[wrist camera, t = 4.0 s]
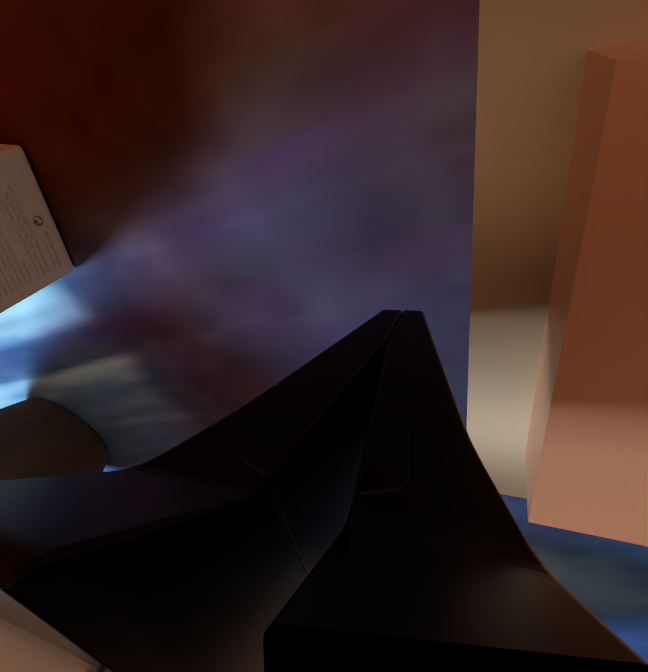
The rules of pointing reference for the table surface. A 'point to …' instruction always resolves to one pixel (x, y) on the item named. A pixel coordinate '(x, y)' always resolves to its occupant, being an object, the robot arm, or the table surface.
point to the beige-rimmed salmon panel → (598, 319)
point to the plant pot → (46, 442)
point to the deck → (524, 201)
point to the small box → (26, 232)
